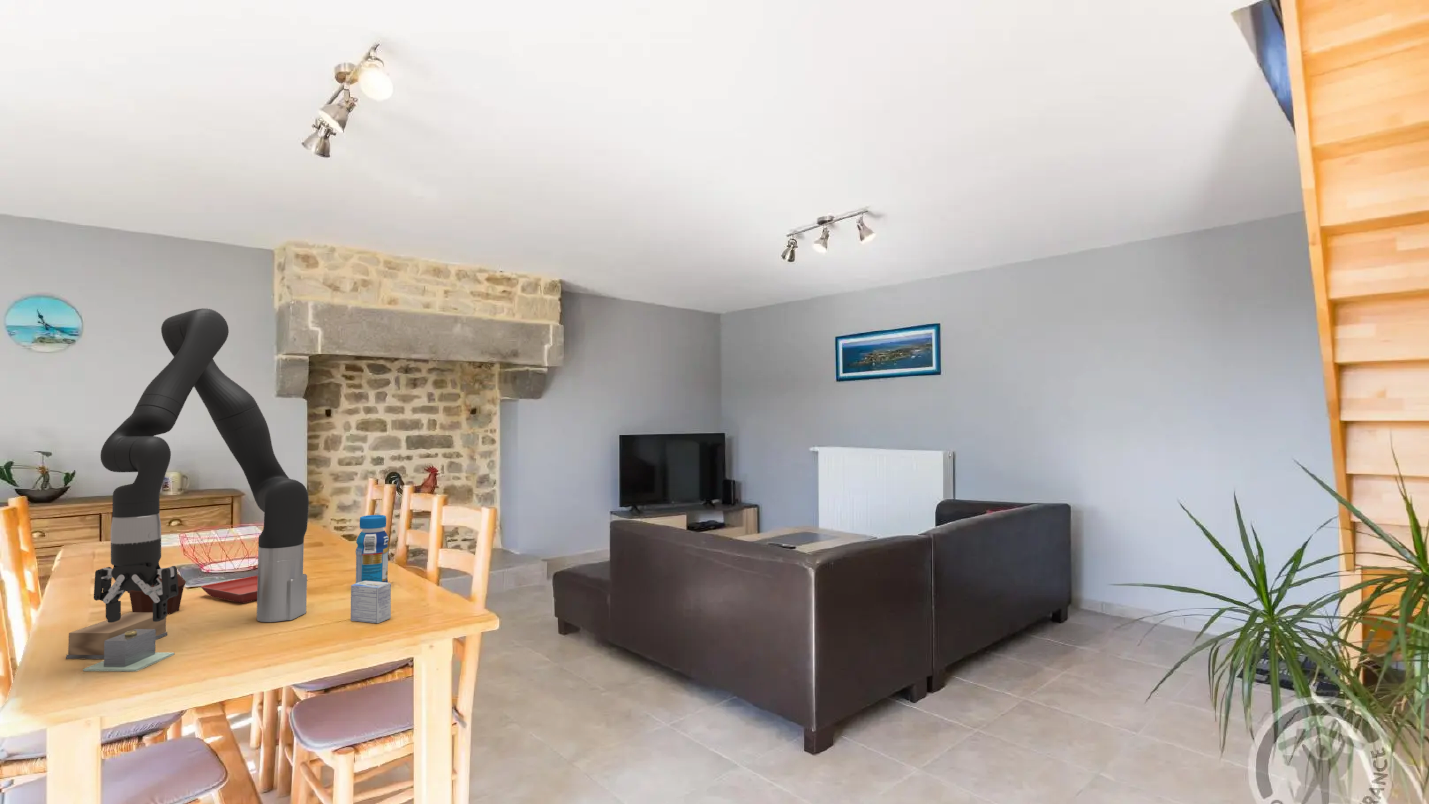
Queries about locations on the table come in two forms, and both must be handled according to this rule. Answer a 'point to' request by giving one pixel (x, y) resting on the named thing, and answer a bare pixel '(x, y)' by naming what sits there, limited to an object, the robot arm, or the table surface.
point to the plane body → (109, 634)
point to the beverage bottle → (372, 550)
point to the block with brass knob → (129, 647)
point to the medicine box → (370, 601)
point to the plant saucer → (234, 589)
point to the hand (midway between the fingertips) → (136, 620)
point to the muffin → (145, 603)
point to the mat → (133, 667)
